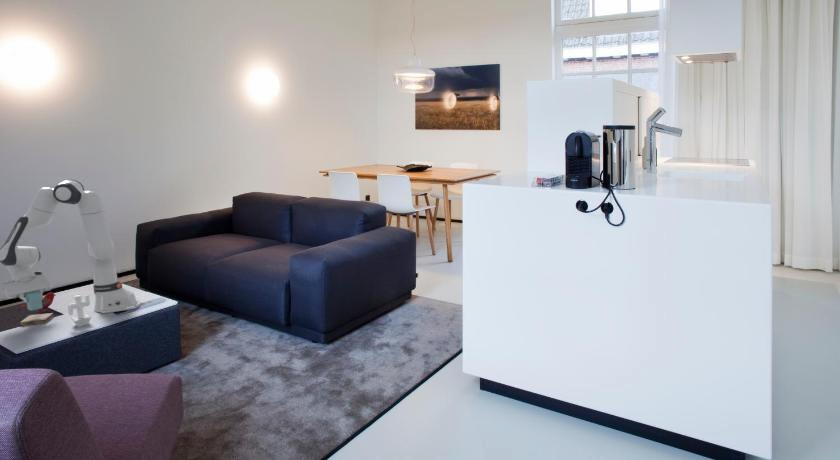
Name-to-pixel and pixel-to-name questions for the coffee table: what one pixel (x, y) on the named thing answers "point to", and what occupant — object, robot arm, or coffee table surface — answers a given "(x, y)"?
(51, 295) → the decorative bird figurine
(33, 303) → the teal block
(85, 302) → the figurine
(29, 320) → the beige square slab
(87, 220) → the robot arm
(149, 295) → the coffee table surface
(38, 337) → the coffee table surface
